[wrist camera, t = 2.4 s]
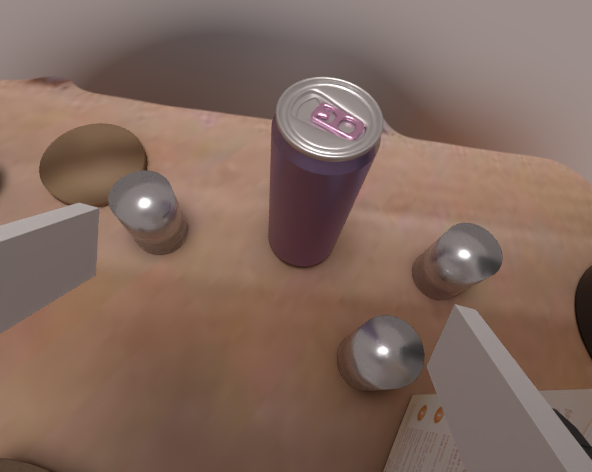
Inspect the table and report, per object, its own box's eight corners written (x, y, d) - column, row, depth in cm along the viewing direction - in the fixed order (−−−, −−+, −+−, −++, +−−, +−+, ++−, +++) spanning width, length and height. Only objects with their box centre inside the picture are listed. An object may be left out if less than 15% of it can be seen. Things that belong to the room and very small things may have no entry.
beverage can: (312, 282, 29) (354, 181, 16) (255, 246, 30) (248, 122, 17) (345, 231, 32) (405, 105, 18) (291, 199, 33) (310, 58, 19)
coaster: (160, 186, 32) (157, 180, 31) (57, 223, 29) (51, 217, 29) (131, 120, 35) (128, 112, 34) (36, 148, 33) (30, 141, 32)
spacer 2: (470, 286, 30) (514, 262, 25) (431, 308, 29) (470, 288, 24) (439, 245, 32) (475, 214, 26) (402, 265, 31) (431, 236, 25)
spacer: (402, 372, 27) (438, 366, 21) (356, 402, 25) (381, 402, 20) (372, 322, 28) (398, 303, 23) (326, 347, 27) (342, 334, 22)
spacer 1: (195, 242, 30) (180, 207, 24) (145, 263, 29) (118, 231, 23) (178, 203, 31) (160, 162, 26) (130, 221, 30) (101, 182, 25)
